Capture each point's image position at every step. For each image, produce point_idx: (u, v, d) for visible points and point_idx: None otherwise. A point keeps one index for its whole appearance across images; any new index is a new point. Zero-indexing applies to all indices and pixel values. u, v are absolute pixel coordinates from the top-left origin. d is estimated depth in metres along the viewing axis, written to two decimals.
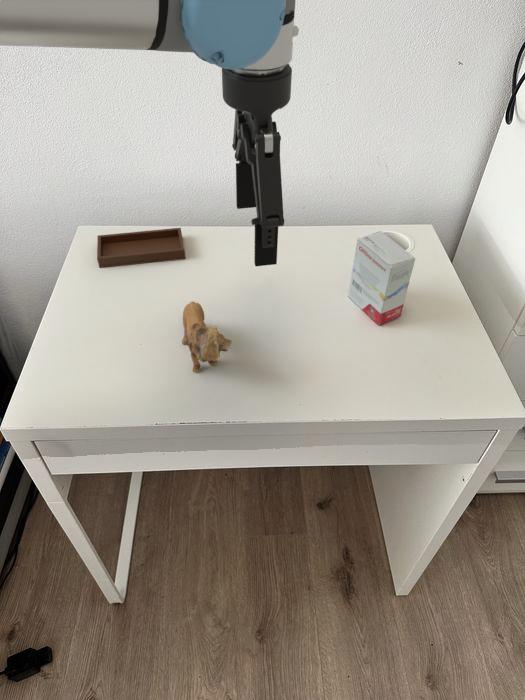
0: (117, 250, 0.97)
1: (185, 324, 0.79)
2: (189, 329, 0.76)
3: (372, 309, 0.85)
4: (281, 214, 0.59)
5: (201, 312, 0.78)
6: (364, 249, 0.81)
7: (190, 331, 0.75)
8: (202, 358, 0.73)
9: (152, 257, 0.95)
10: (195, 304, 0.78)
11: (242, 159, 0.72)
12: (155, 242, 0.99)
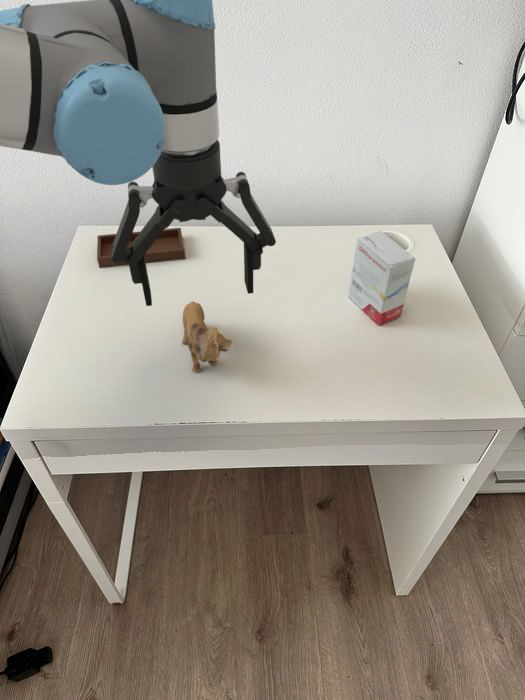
0: None
1: (185, 324, 0.79)
2: (189, 329, 0.76)
3: (372, 309, 0.85)
4: (269, 226, 0.68)
5: (201, 312, 0.78)
6: (364, 249, 0.81)
7: (190, 331, 0.75)
8: (202, 358, 0.73)
9: (152, 257, 0.95)
10: (195, 304, 0.78)
11: None
12: (155, 242, 0.99)
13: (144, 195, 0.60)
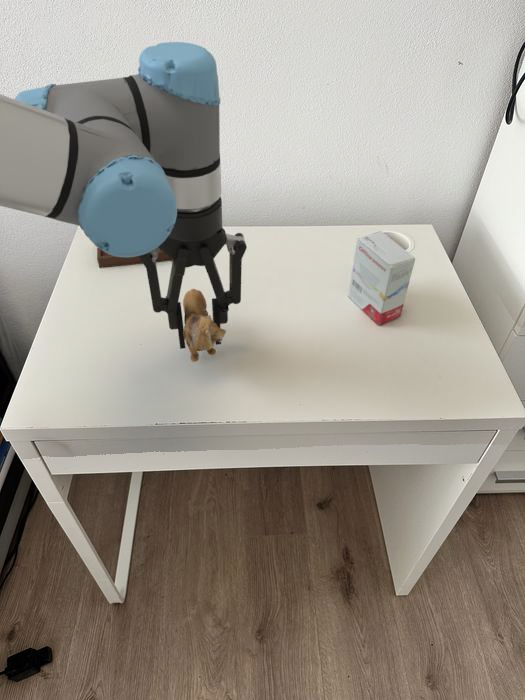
0: None
1: None
2: (185, 317, 0.74)
3: (372, 309, 0.85)
4: None
5: (201, 300, 0.76)
6: (364, 249, 0.81)
7: (186, 319, 0.73)
8: (195, 347, 0.71)
9: None
10: (194, 292, 0.76)
11: None
12: None
13: (153, 250, 0.65)
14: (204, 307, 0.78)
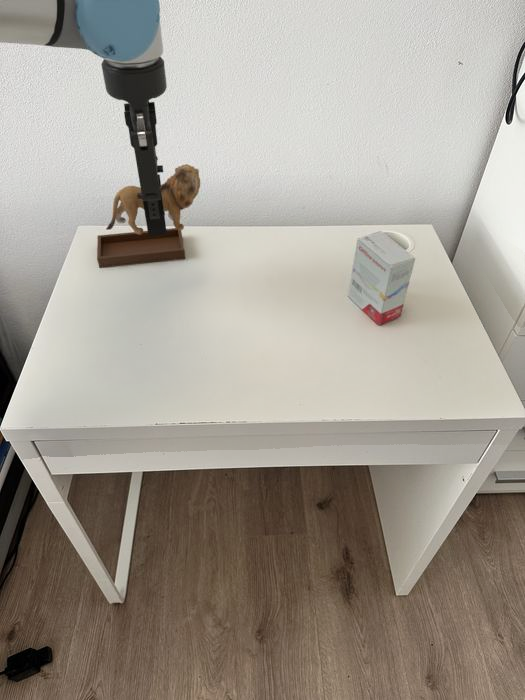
0: (117, 250, 0.97)
1: (136, 210, 0.78)
2: None
3: (372, 309, 0.85)
4: None
5: None
6: (364, 249, 0.81)
7: (162, 196, 0.77)
8: (194, 197, 0.78)
9: (152, 257, 0.95)
10: (128, 186, 0.76)
11: None
12: (155, 242, 0.99)
13: None
14: None
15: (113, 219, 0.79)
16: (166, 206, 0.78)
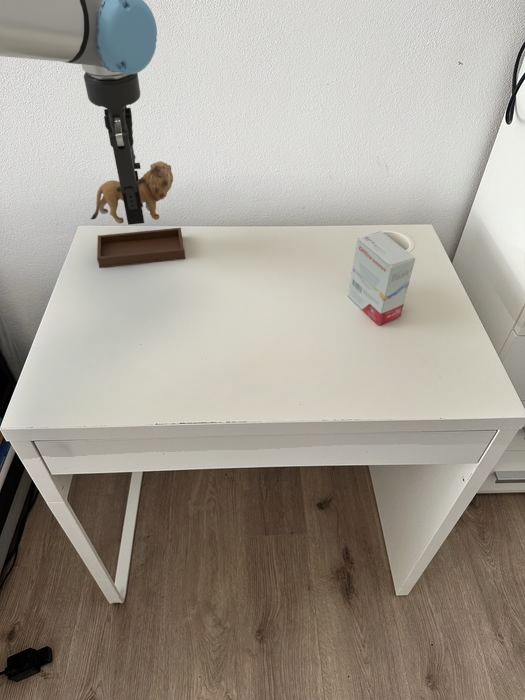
0: (117, 250, 0.97)
1: (117, 202, 0.89)
2: None
3: (372, 309, 0.85)
4: None
5: None
6: (364, 249, 0.81)
7: (139, 189, 0.88)
8: (167, 190, 0.90)
9: (152, 257, 0.95)
10: (110, 181, 0.87)
11: None
12: (155, 242, 0.99)
13: None
14: None
15: (97, 210, 0.90)
16: (143, 198, 0.89)
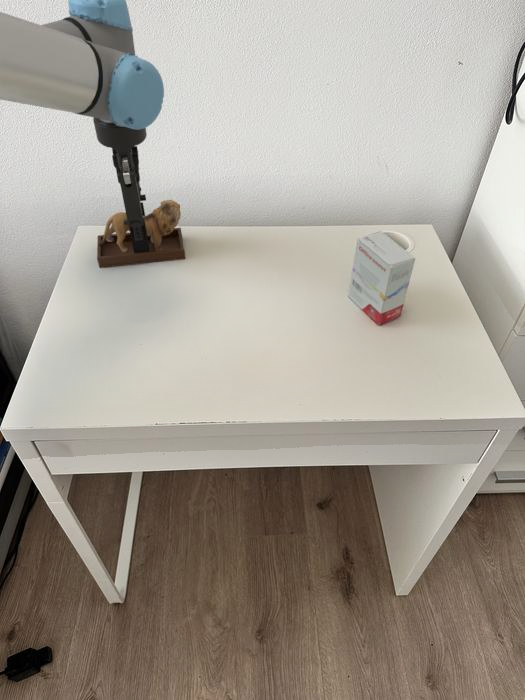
0: (117, 250, 0.97)
1: (125, 233, 0.93)
2: None
3: (372, 309, 0.85)
4: None
5: None
6: (364, 249, 0.81)
7: (148, 223, 0.93)
8: (174, 227, 0.95)
9: (152, 257, 0.95)
10: (121, 213, 0.92)
11: None
12: None
13: (129, 170, 0.82)
14: None
15: (104, 238, 0.94)
16: (151, 232, 0.94)
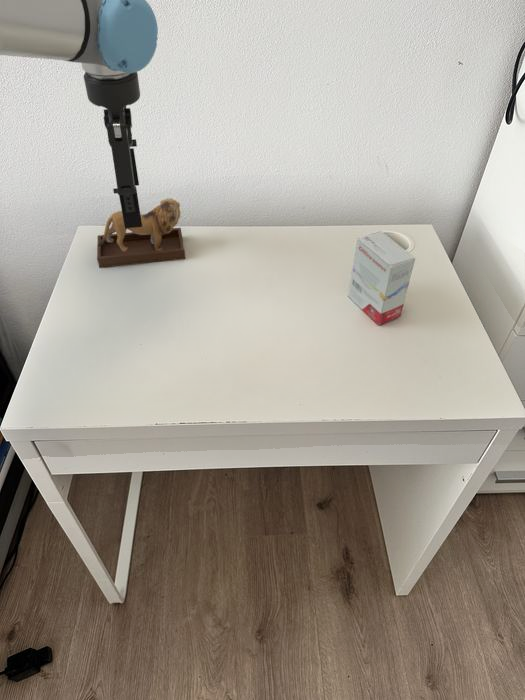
0: (117, 250, 0.97)
1: (125, 231, 0.93)
2: (144, 221, 0.93)
3: (372, 309, 0.85)
4: None
5: None
6: (364, 249, 0.81)
7: (148, 221, 0.93)
8: (174, 225, 0.95)
9: (152, 257, 0.95)
10: (121, 211, 0.93)
11: None
12: None
13: None
14: None
15: (104, 237, 0.95)
16: (151, 230, 0.94)
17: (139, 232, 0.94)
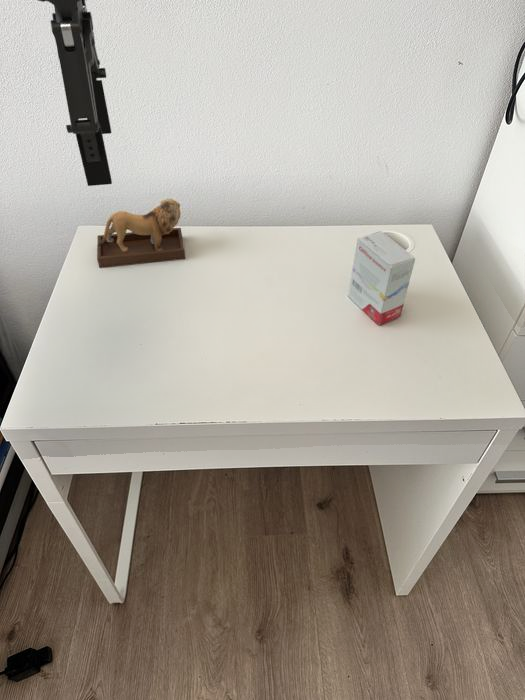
0: (117, 250, 0.97)
1: (125, 231, 0.93)
2: (144, 222, 0.93)
3: (372, 309, 0.85)
4: None
5: None
6: (364, 249, 0.81)
7: (148, 221, 0.93)
8: (174, 226, 0.95)
9: (152, 257, 0.95)
10: (121, 211, 0.93)
11: None
12: None
13: None
14: None
15: (104, 237, 0.95)
16: (151, 230, 0.94)
17: (139, 232, 0.94)
